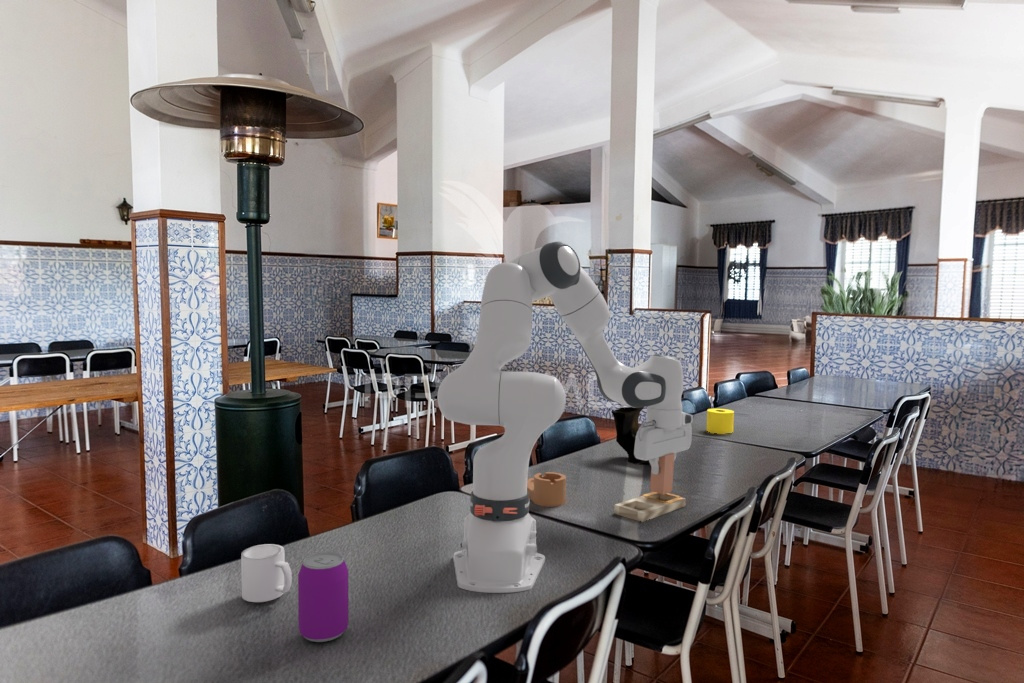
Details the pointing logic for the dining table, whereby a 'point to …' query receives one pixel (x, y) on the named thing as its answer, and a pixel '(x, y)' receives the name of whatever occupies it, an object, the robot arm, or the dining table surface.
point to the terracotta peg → (663, 475)
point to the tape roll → (720, 421)
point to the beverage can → (323, 596)
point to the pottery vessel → (627, 430)
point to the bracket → (547, 489)
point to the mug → (264, 573)
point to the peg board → (649, 506)
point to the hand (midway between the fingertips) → (662, 471)
